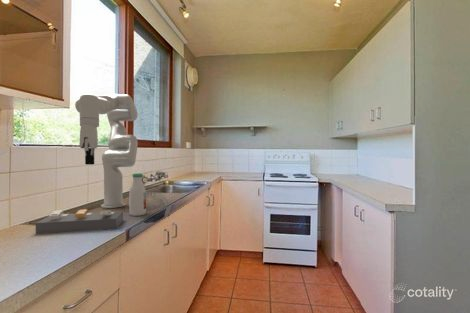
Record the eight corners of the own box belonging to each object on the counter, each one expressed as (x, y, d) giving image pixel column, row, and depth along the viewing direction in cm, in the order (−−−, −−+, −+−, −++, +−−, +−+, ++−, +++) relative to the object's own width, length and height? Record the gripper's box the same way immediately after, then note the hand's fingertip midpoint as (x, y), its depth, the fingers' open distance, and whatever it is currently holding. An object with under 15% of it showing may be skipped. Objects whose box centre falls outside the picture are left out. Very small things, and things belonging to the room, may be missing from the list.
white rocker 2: (103, 214, 110) (103, 210, 110) (111, 213, 110) (111, 209, 110) (100, 214, 105) (100, 210, 105) (108, 213, 105) (108, 209, 106)
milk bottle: (140, 216, 124) (140, 174, 123) (125, 215, 125) (125, 174, 125) (149, 212, 131) (148, 173, 131) (135, 212, 133) (135, 173, 133)
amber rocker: (79, 213, 107) (79, 209, 107) (87, 212, 108) (87, 208, 108) (75, 217, 103) (75, 213, 102) (83, 217, 103) (83, 213, 103)
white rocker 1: (54, 213, 105) (54, 210, 105) (63, 213, 106) (62, 209, 106) (49, 219, 101) (48, 215, 100) (58, 219, 101) (57, 215, 101)
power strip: (52, 223, 111) (52, 213, 111) (123, 219, 117) (123, 210, 117) (35, 233, 97) (35, 222, 97) (116, 228, 104) (116, 218, 104)
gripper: (85, 124, 122) (86, 163, 122) (73, 120, 107) (74, 165, 108) (103, 125, 124) (103, 163, 124) (93, 121, 109) (94, 165, 109)
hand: (89, 164), depth 116 cm, fingers closed
